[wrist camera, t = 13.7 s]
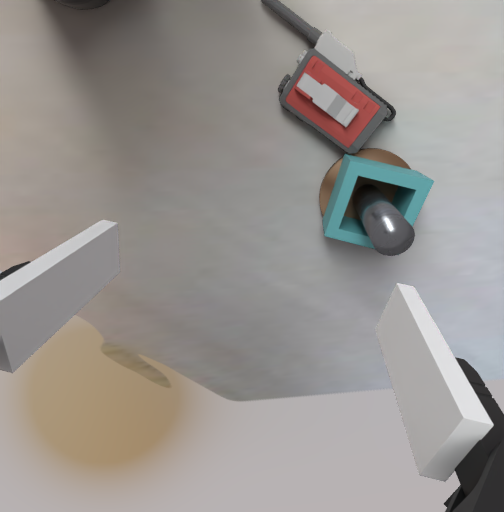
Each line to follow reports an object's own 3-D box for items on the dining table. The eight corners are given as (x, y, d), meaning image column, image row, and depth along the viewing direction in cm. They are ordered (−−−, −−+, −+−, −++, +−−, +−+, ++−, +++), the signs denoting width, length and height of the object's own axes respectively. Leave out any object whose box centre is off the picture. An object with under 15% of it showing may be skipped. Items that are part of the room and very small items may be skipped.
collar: (344, 153, 39) (350, 160, 33) (416, 170, 38) (434, 181, 33) (322, 220, 43) (324, 235, 37) (387, 236, 42) (398, 255, 37)
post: (358, 181, 40) (380, 214, 27) (385, 187, 39) (421, 224, 27) (348, 207, 41) (365, 249, 29) (375, 214, 41) (404, 259, 29)
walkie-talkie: (407, 97, 37) (268, -13, 34) (419, 95, 33) (263, -29, 30) (356, 160, 40) (228, 65, 38) (361, 166, 36) (219, 60, 34)
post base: (335, 138, 39) (336, 139, 38) (429, 160, 39) (434, 162, 37) (308, 224, 45) (308, 228, 43) (390, 245, 44) (393, 250, 43)
